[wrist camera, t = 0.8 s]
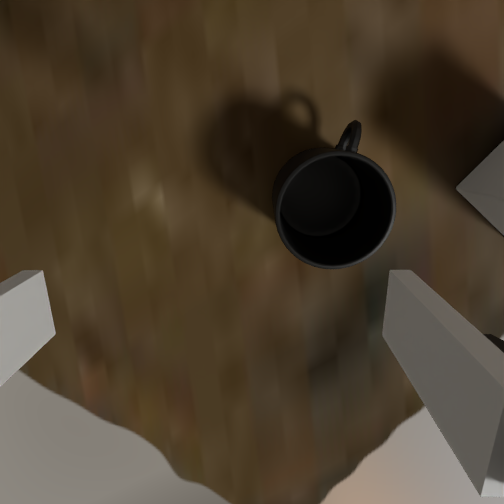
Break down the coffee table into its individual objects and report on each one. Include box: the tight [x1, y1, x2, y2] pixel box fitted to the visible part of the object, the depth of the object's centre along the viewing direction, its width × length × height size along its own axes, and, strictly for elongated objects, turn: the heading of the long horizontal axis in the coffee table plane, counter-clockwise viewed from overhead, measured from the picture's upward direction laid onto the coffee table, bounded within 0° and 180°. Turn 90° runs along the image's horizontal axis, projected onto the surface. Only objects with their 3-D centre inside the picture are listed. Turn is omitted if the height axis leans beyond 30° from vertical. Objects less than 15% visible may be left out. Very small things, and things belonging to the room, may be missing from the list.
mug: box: [272, 120, 396, 269], centre depth 32 cm, size 9×12×9 cm
